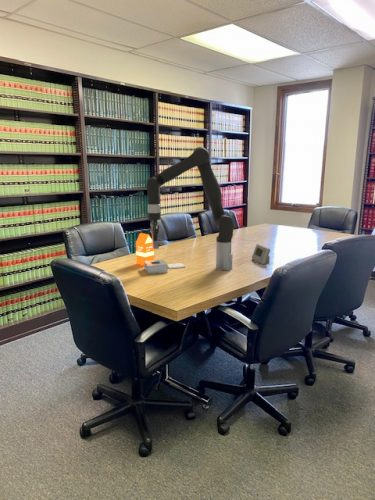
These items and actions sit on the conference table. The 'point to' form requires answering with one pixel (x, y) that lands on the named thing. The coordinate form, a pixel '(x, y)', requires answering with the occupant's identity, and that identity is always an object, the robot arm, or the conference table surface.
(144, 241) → the orange juice
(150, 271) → the block
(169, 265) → the pad
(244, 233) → the conference table surface
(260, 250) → the digital clock
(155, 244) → the key
